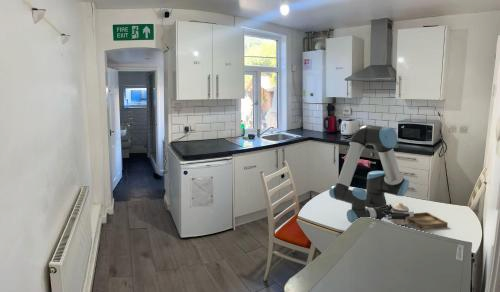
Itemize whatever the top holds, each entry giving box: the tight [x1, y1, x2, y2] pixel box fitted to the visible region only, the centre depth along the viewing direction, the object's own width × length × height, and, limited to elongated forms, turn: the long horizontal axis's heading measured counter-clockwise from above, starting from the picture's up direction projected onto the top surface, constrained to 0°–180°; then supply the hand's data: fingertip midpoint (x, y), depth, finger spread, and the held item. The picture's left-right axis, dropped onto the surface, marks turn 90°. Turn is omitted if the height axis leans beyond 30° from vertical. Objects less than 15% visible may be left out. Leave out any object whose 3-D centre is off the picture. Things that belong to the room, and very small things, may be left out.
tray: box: [407, 211, 448, 230], centre depth 210 cm, size 17×17×2 cm
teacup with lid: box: [391, 202, 410, 226], centre depth 207 cm, size 12×9×12 cm
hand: (407, 210), depth 207 cm, fingers closed on teacup with lid, 10 cm apart
